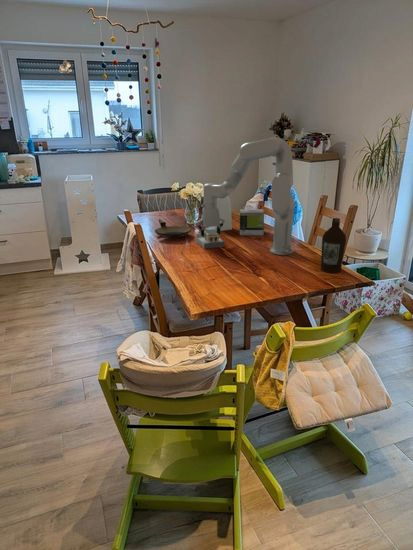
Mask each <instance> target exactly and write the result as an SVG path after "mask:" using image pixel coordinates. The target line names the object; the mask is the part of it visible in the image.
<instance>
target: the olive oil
mask: <svg viewBox="0 0 413 550" xmlns="http://www.w3.org/2000/svg"><path fill="white" fill-rule="evenodd" d="M340 223H341V218H339V217H333V218H332V221H331V227H329V228H328V229H327V230H326V231H325V232H324V233H323V235H322V239H321V261H320V271H322V272H323V273H329V274H338V273H340V272H341V271H342V266H343V259H344V256H345V255H344V254H345V249H346V242H347V236H346V233H345V232H344V231H343V230H342V229H341V227H340V225H341V224H340Z"/></svg>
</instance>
